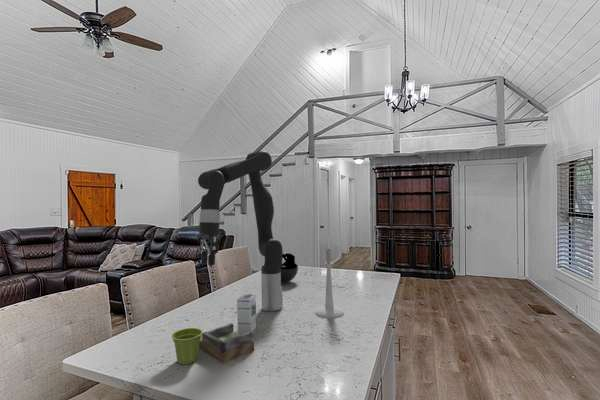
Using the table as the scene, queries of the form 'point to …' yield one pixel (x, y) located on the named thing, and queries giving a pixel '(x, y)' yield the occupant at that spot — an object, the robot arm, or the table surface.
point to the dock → (226, 343)
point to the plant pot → (187, 344)
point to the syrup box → (246, 314)
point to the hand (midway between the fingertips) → (207, 264)
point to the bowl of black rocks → (288, 268)
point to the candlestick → (329, 294)
